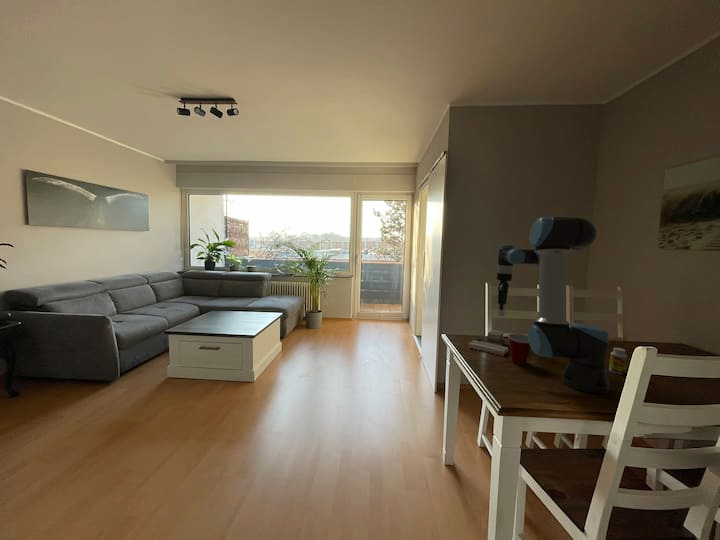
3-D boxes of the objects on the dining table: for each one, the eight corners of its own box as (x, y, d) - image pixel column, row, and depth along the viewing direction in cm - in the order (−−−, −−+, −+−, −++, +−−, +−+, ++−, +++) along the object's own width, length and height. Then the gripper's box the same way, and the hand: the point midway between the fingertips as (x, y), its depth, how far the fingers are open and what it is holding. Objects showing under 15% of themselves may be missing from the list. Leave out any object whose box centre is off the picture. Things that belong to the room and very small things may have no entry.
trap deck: (503, 356, 154) (504, 351, 154) (468, 348, 164) (468, 343, 164) (513, 346, 170) (514, 341, 169) (481, 339, 180) (481, 335, 180)
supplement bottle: (610, 372, 138) (612, 349, 137) (607, 368, 142) (610, 346, 142) (626, 375, 135) (629, 352, 134) (623, 371, 140) (626, 348, 139)
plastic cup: (508, 365, 142) (510, 339, 141) (503, 357, 153) (505, 332, 152) (535, 368, 140) (537, 341, 138) (528, 359, 150) (530, 334, 149)
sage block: (499, 342, 167) (499, 335, 166) (487, 340, 170) (487, 332, 170) (502, 339, 172) (503, 332, 172) (491, 337, 176) (491, 330, 176)
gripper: (500, 271, 183) (497, 312, 185) (493, 273, 173) (490, 316, 175) (514, 272, 178) (511, 314, 180) (508, 274, 168) (505, 318, 170)
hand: (501, 315), depth 178 cm, fingers closed
